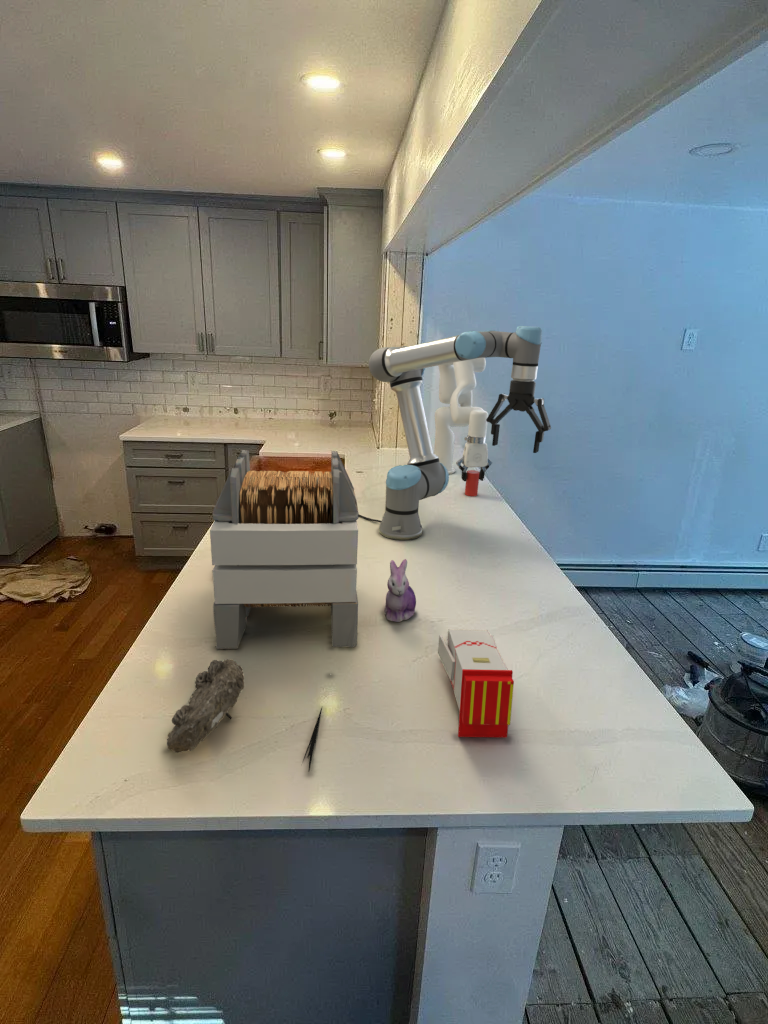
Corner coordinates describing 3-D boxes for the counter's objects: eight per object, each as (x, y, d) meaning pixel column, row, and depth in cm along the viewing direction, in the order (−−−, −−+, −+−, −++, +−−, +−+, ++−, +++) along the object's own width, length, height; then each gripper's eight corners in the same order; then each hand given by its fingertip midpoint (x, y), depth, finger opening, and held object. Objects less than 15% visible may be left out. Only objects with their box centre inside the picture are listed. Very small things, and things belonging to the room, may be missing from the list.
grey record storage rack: (234, 582, 160) (226, 440, 146) (350, 581, 163) (353, 443, 150) (213, 651, 128) (201, 478, 114) (357, 647, 132) (363, 480, 118)
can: (478, 496, 244) (480, 473, 241) (465, 496, 244) (467, 473, 241) (476, 492, 249) (478, 470, 246) (463, 492, 249) (465, 469, 246)
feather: (331, 679, 122) (336, 673, 122) (307, 777, 96) (313, 769, 95) (324, 675, 122) (329, 669, 121) (298, 772, 95) (304, 764, 95)
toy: (488, 613, 130) (523, 677, 101) (484, 667, 133) (517, 744, 104) (435, 612, 130) (455, 676, 101) (432, 666, 133) (451, 743, 103)
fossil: (192, 660, 117) (244, 628, 112) (224, 691, 120) (276, 661, 115) (142, 746, 98) (202, 712, 93) (182, 779, 101) (242, 748, 96)
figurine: (392, 627, 141) (395, 572, 136) (374, 608, 149) (376, 556, 144) (425, 619, 145) (429, 566, 140) (405, 601, 154) (408, 550, 149)
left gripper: (568, 383, 168) (557, 453, 175) (490, 375, 181) (483, 440, 188) (560, 385, 162) (549, 457, 169) (480, 376, 175) (473, 444, 182)
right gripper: (460, 442, 233) (456, 483, 239) (499, 441, 237) (494, 482, 243) (454, 438, 240) (450, 478, 246) (491, 437, 244) (487, 477, 250)
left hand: (514, 448), depth 179 cm, fingers open, 13 cm apart
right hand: (472, 480), depth 244 cm, fingers open, 7 cm apart
